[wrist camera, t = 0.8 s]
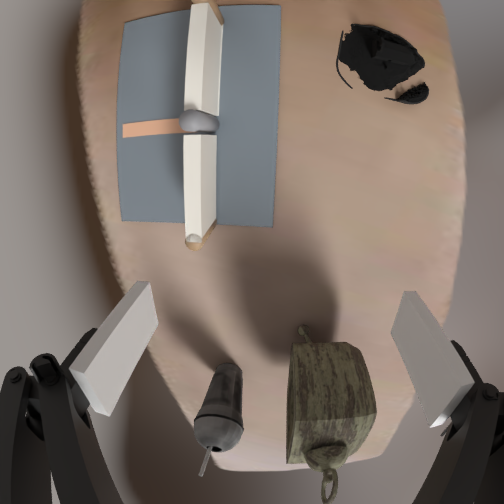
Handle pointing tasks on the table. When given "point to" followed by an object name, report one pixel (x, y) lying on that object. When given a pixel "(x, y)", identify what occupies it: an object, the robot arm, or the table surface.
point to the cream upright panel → (199, 188)
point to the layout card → (229, 115)
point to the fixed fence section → (202, 68)
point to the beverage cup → (221, 412)
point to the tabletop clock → (327, 406)
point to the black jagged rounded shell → (382, 60)
